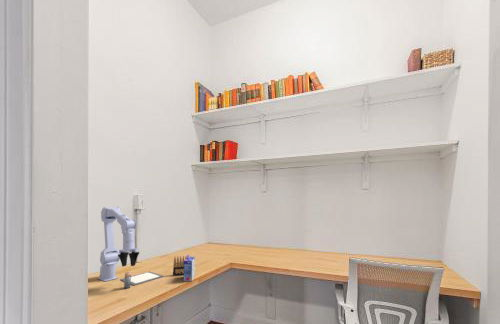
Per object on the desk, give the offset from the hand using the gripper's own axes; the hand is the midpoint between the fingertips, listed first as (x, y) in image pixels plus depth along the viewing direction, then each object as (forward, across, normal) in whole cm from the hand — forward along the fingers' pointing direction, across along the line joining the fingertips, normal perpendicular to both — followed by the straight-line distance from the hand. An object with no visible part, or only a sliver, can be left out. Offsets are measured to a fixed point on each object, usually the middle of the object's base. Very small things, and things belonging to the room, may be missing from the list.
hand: (128, 266), depth 140 cm
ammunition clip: (+13, +9, +32) cm, 36 cm away
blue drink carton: (+14, +18, +29) cm, 37 cm away
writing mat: (+10, -8, +15) cm, 20 cm away
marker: (+12, -2, 0) cm, 12 cm away
